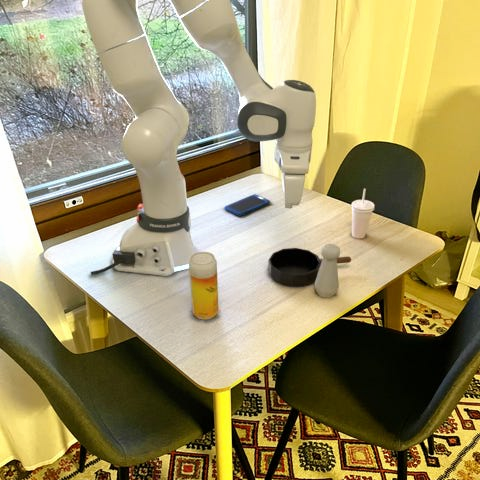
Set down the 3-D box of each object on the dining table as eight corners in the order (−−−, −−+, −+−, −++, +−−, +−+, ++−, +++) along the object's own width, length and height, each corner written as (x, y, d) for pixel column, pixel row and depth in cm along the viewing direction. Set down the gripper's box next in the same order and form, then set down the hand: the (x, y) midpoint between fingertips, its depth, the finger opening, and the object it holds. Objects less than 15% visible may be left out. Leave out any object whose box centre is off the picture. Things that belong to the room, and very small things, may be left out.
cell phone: (270, 202, 166) (270, 200, 166) (239, 216, 159) (239, 214, 158) (254, 195, 171) (254, 193, 170) (223, 209, 163) (223, 206, 163)
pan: (274, 289, 128) (274, 277, 126) (264, 261, 139) (265, 250, 136) (357, 282, 131) (359, 270, 128) (342, 255, 141) (344, 244, 139)
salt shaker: (336, 301, 124) (343, 254, 116) (312, 298, 125) (317, 252, 117) (338, 287, 129) (344, 241, 121) (315, 285, 130) (319, 239, 122)
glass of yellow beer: (220, 319, 119) (218, 263, 110) (194, 322, 118) (190, 266, 109) (216, 303, 124) (213, 249, 114) (190, 307, 123) (186, 252, 114)
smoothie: (367, 229, 152) (374, 184, 144) (371, 240, 147) (379, 194, 139) (345, 230, 152) (351, 185, 143) (349, 241, 147) (356, 194, 138)
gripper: (277, 138, 134) (274, 188, 142) (282, 169, 118) (277, 223, 126) (302, 138, 134) (297, 189, 143) (309, 170, 118) (303, 224, 126)
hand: (288, 205), depth 134 cm, fingers closed
